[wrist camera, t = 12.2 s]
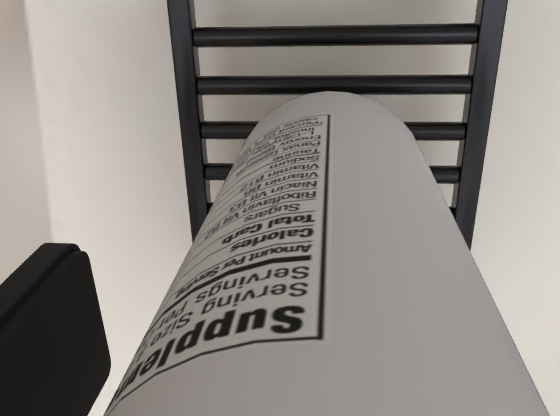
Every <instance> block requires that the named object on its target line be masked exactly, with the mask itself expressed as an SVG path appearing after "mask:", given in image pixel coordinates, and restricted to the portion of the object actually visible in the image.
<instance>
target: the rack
mask: <svg viewBox="0 0 560 416" xmlns="http://www.w3.org/2000/svg"><path fill="white" fill-rule="evenodd" d="M507 4H508V0H477V8H476V16H475V23H464V24H397V25H329V26H262V27H196V20H195V9H194V0H167V7H168V16H169V25H170V35H171V44H172V54H173V63H174V73H175V82H176V92H177V101H178V111H179V120H180V129H181V139H182V148H183V158H184V167H185V177H186V186H187V196H188V205H189V214H190V224H191V233H192V243H193V242H194V240H195V238H196V236H197V234H198V232H199V230H200V228H201V226H202V225H203V223H204V221H205V219H206V217H207V215H208V213H209V211H210V209H211V207H212V205H213V203H214V202H211V195H210V184H209V180H226V178H227V176H228V174H229V172H230V171H231V169H232V167H233V165H234V163H208V160H207V149H206V139H247V138H248V136H249V135H250V133H251V132H252V131H253V129H254V128H255V127H256V125H257V124H258V123H259V122H260V121H204V114H203V102H202V95H306V94H310V93H318V92H325V91H333V92H348V93H352V94H356V95H432V94H466V95H465V103H464V111H463V118H462V122H403V123H404V124H405V125H406V126H407V127H408V129H409V130H410V131H411V132H412V134H413V136H414V138H415V140H427V141H460V142H459V150H458V158H457V166H429V168H430V170H431V172H432V174H433V176H434V178H435V180H436V182H437V183H439V184H454V189H453V197H452V205H451V207H449V209H450V211H451V213H452V215H453V217H454V219H455V221H456V224H457V226H458V228H459V230H460V232H461V234H462V236H463V238H464V240H465V242H466V244H467V246H468V248H469V250H471V244H472V237H473V230H474V224H475V217H476V210H477V204H478V197H479V190H480V184H481V177H482V170H483V164H484V157H485V150H486V144H487V137H488V130H489V124H490V117H491V110H492V104H493V97H494V90H495V84H496V77H497V70H498V64H499V57H500V50H501V44H502V37H503V30H504V24H505V17H506V10H507ZM383 45H472V48H471V56H470V63H469V71H468V75H312V76H200V67H199V55H198V48H202V47H292V46H383Z"/></svg>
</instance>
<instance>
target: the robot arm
mask: <svg viewBox="0 0 560 416" xmlns="http://www.w3.org/2000/svg"><path fill="white" fill-rule="evenodd" d="M110 368H111V359H110V354H109V349H108V344H107V339H106V335H105V330H104V325H103V321H102V316H101V311H100V307H99V302H98V297H97V293H96V288H95V283H94V278H93V274H92V269H91V264H90V260H89V256H88V254H87V253H86V252H84V251H81V250H80V248H79V247H78V245H76V244H68V243H44V244H43V245H41V246H40V247H39V248H38V249H37V250H36V251H35V252H34V253H33V254H32V255H31V256H30V257H29V258H28V259H27V260H26V261H24V263H22V264H21V265H20V266H19V268H17V269H16V270H15V271H14V272H13V273H12V274H11V275H10V276H9V277H8V278H7V279H6V280H5V281H4V282H3V283H2V284H1V285H0V416H87V415H88V413H89V412H90V410H91V408H92V406H93V404H94V402H95V401H96V399H97V397H98V395H99V393H100V391H101V390H102V388H103V386H104V384H105V382H106V381H107V378H108V376H109V373H110Z"/></svg>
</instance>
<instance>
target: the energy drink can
mask: <svg viewBox="0 0 560 416" xmlns="http://www.w3.org/2000/svg"><path fill="white" fill-rule="evenodd" d="M104 416H550V415H549V413H548V411H547V409H546V407H545V405H544V403H543V401H542V399H541V397H540V395H539V393H538V391H537V389H536V386H535V384H534V382H533V380H532V378H531V376H530V374H529V372H528V370H527V368H526V366H525V364H524V362H523V360H522V358H521V356H520V353H519V351H518V349H517V347H516V345H515V343H514V341H513V339H512V337H511V335H510V333H509V331H508V329H507V327H506V325H505V323H504V320H503V318H502V316H501V314H500V312H499V310H498V308H497V306H496V304H495V302H494V300H493V298H492V296H491V294H490V292H489V290H488V287H487V285H486V283H485V281H484V279H483V277H482V275H481V273H480V271H479V269H478V267H477V265H476V263H475V261H474V259H473V257H472V254H471V252H470V250H469V248H468V246H467V244H466V242H465V240H464V238H463V236H462V234H461V232H460V230H459V228H458V226H457V224H456V221H455V219H454V217H453V215H452V213H451V211H450V209H449V207H448V205H447V203H446V201H445V199H444V197H443V195H442V193H441V191H440V188H439V186H438V184H437V182H436V180H435V178H434V176H433V174H432V172H431V170H430V168H429V166H428V164H427V162H426V160H425V158H424V156H423V153H422V151H421V149H420V147H419V145H418V144H417V142H416V140H415V138H414V136H413V134H412V132H411V131H410V130H409V129H408V127H407V126H406V125H405V124H404V123H403V121H402V120H401V119H400V118H399V117H398V116H396V115H395V114H394V113H393V112H391V111H390V110H389V109H387V108H386V107H385V106H383V105H381V104H379V103H377V102H375V101H373V100H371V99H369V98H367V97H363V96H359V95H356V94H352V93H348V92H333V91H325V92H318V93H310V94H306V95H303V96H300V97H297V98H294V99H291V100H289V101H287V102H285V103H284V104H282V105H280V106H278V107H277V108H275V109H273V110H272V111H271V112H270V113H269V114H267V115H266V116H265V117H264V118H263V119H262V120H261V121H260V122H259V123H258V124H257V125H256V127H255V128H254V129H253V131H252V132H251V133H250V135H249V136H248V138H247V140H246V142H245V144H244V145H243V147H242V149H241V151H240V153H239V155H238V157H237V159H236V161H235V163H234V165H233V167H232V169H231V171H230V172H229V174H228V176H227V178H226V180H225V182H224V184H223V186H222V188H221V190H220V192H219V194H218V196H217V198H216V199H215V201H214V203H213V205H212V207H211V209H210V211H209V213H208V215H207V217H206V219H205V221H204V223H203V225H202V226H201V228H200V230H199V232H198V234H197V236H196V238H195V240H194V242H193V244H192V246H191V248H190V250H189V252H188V253H187V255H186V257H185V259H184V261H183V263H182V265H181V267H180V269H179V271H178V273H177V275H176V277H175V279H174V280H173V282H172V284H171V286H170V288H169V290H168V292H167V294H166V296H165V298H164V300H163V302H162V304H161V306H160V307H159V309H158V311H157V313H156V315H155V317H154V319H153V321H152V323H151V325H150V327H149V329H148V331H147V333H146V335H145V336H144V338H143V340H142V342H141V344H140V346H139V348H138V350H137V352H136V354H135V356H134V358H133V360H132V362H131V363H130V365H129V367H128V369H127V371H126V373H125V375H124V377H123V379H122V381H121V383H120V385H119V387H118V389H117V390H116V392H115V394H114V396H113V398H112V400H111V402H110V404H109V406H108V408H107V410H106V412H105V414H104Z"/></svg>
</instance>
